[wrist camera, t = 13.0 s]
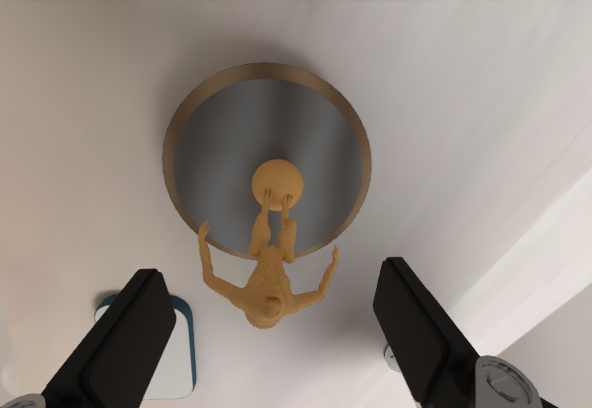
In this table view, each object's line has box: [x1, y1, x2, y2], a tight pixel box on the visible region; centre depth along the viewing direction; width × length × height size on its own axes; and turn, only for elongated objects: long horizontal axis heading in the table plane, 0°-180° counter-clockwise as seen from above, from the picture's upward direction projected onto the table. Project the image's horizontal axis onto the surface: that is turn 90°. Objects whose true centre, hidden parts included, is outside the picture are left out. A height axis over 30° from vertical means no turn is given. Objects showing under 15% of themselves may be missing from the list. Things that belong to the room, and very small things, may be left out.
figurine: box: [198, 159, 338, 329], centre depth 14 cm, size 8×6×12 cm
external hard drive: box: [95, 294, 196, 400], centre depth 33 cm, size 24×12×2 cm, turn 171°
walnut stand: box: [162, 63, 371, 261], centre depth 21 cm, size 18×18×4 cm
